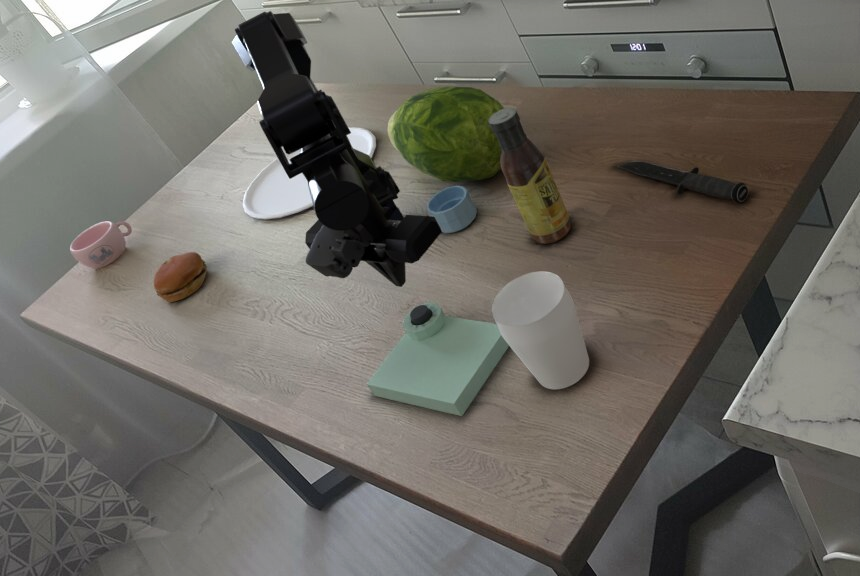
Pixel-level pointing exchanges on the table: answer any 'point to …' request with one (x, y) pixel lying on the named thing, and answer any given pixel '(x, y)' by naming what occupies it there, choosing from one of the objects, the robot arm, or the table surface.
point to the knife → (690, 180)
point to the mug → (100, 244)
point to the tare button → (420, 315)
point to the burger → (180, 276)
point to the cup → (542, 328)
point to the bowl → (452, 209)
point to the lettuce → (448, 133)
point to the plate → (291, 184)
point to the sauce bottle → (530, 179)
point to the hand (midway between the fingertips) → (401, 284)
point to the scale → (440, 362)
